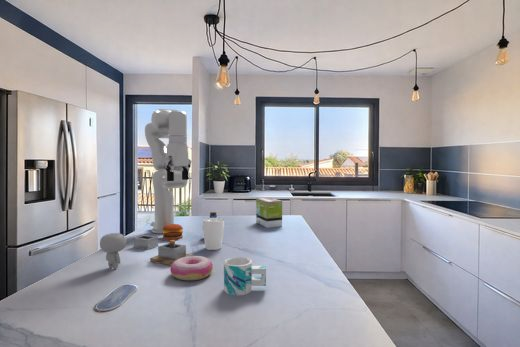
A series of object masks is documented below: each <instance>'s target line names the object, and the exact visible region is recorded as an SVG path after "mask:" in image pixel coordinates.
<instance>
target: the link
mask: <svg viewBox="0 0 520 347" xmlns="http://www.w3.org/2000/svg"><path fill="white" fill-rule="evenodd" d="M157 247H158V248H157V252H158V257H159V258H164V259H170V260H177V259H179V258H182V257H185V256H186V254H187V245H186V244H180V243H175V248H170V247H169V242H167V243H164V244H163V245H160V246H159V245H158V246H157Z"/></svg>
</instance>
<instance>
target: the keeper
mask: <svg viewBox="0 0 520 347" xmlns="http://www.w3.org/2000/svg"><path fill="white" fill-rule="evenodd" d="M168 241H169V242H168V243H169V247H170V248H175V244H176V240H168ZM188 256H195V254H190V253H186V256H185V257H188ZM182 258H183V257H182ZM149 261H150V262H151V263H157V264H163V265H168V266H171V265H172V263H173V262H174V261H176V260H170V259H164V258H159V257H158V255H155V256H152V257H150V259H149Z"/></svg>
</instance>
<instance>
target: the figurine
mask: <svg viewBox="0 0 520 347" xmlns="http://www.w3.org/2000/svg"><path fill="white" fill-rule="evenodd" d="M126 245H127V238H126V237H125V236H124V235H123V234H122V233H119V232H111V233H108V234H107V233H106V234H104V235H103V236H102V237H100V240H99V247H100V250H101V251H103V252H104V253H106V254H105V260H106V261H107V262H108V263H107V265H108V268H110V269H113V270H117V269H118V268H119V264H121V256H120V254H119V252H121V251H123V250H124V249H125V248H126Z"/></svg>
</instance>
